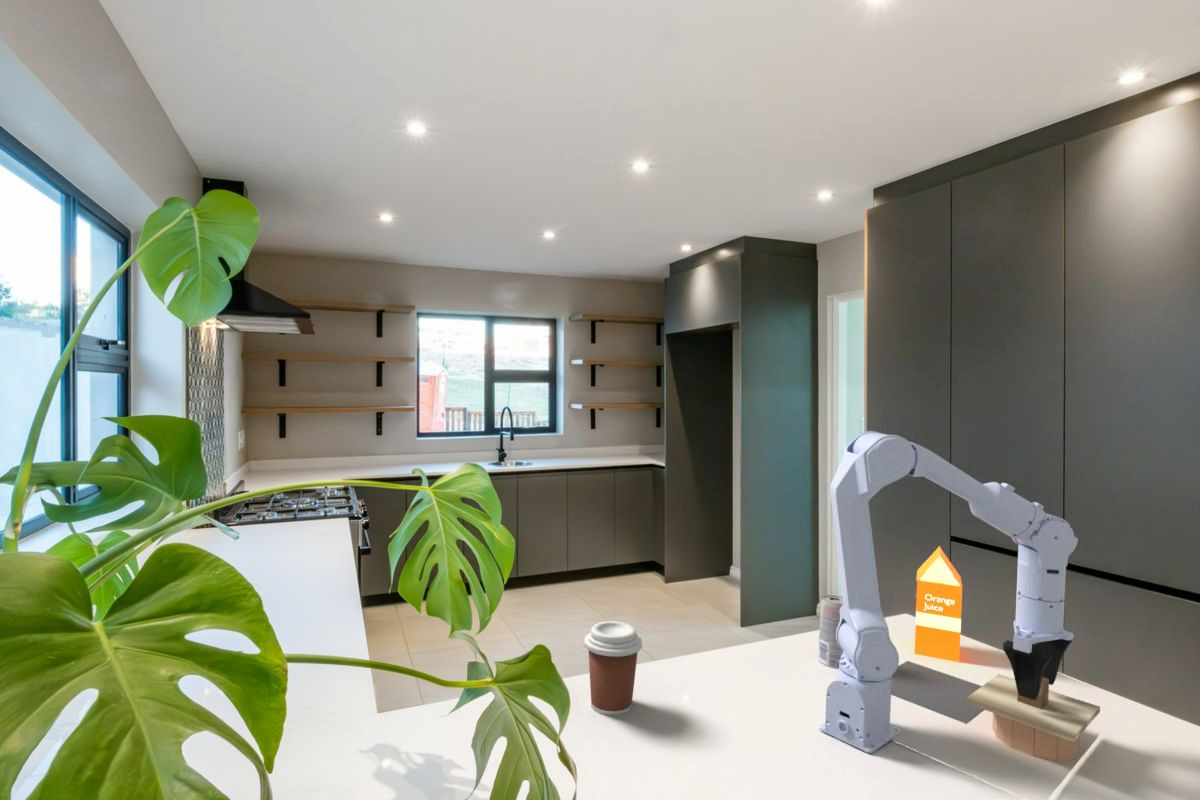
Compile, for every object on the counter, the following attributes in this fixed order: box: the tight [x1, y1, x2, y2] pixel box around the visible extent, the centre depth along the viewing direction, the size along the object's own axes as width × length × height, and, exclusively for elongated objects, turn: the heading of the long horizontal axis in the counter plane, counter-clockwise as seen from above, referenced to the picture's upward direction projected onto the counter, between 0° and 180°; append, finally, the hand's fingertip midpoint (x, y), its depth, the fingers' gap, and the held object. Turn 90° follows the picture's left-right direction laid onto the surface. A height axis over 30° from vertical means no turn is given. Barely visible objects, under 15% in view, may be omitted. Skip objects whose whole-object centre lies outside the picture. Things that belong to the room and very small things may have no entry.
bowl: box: [991, 713, 1081, 762], centre depth 92 cm, size 10×10×5 cm
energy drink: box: [818, 594, 843, 670], centre depth 118 cm, size 5×5×12 cm
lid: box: [966, 673, 1101, 742], centre depth 93 cm, size 13×13×4 cm
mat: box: [891, 660, 985, 725], centre depth 108 cm, size 16×16×1 cm
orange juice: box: [914, 545, 963, 663], centre depth 125 cm, size 8×9×20 cm
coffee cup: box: [584, 620, 643, 716], centre depth 100 cm, size 9×9×12 cm
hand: (1036, 689), depth 92 cm, fingers open, 7 cm apart
